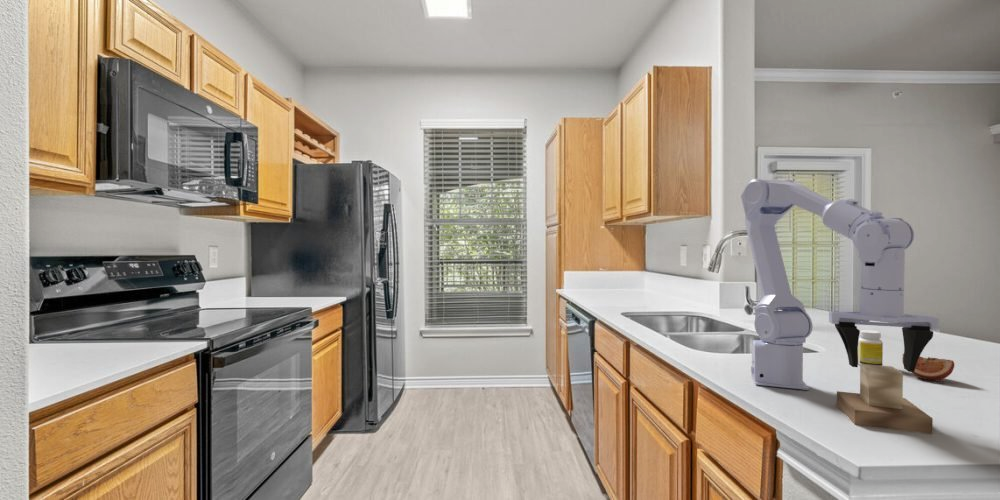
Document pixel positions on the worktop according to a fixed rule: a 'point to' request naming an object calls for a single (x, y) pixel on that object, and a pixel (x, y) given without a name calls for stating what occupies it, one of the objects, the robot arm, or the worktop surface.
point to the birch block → (881, 386)
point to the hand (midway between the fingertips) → (880, 368)
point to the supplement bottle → (870, 348)
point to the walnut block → (884, 414)
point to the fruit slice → (933, 368)
